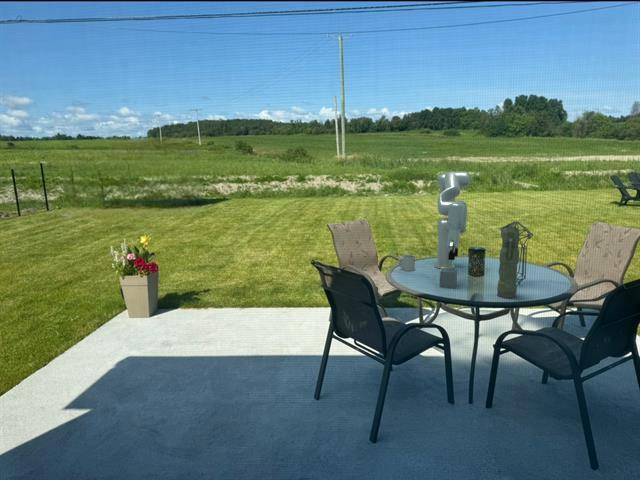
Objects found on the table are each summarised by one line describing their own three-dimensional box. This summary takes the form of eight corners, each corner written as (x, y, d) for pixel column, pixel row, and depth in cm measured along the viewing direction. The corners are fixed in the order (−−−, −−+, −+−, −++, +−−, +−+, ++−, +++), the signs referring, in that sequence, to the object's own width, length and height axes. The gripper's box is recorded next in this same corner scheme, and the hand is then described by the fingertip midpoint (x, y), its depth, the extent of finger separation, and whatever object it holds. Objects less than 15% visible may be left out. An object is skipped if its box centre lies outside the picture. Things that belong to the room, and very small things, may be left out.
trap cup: (442, 283, 250) (443, 268, 249) (456, 285, 247) (457, 269, 245) (439, 287, 243) (440, 271, 242) (454, 288, 240) (455, 272, 238)
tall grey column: (498, 298, 223) (503, 228, 217) (495, 292, 234) (500, 225, 228) (517, 300, 221) (523, 229, 214) (514, 293, 232) (519, 226, 226)
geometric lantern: (523, 281, 256) (529, 220, 249) (528, 289, 241) (535, 224, 234) (494, 278, 260) (499, 218, 253) (496, 286, 245) (502, 223, 238)
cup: (413, 271, 277) (414, 257, 275) (397, 270, 279) (398, 256, 278) (415, 269, 283) (415, 255, 282) (399, 268, 286) (399, 254, 285)
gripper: (450, 223, 248) (448, 254, 251) (444, 228, 233) (442, 260, 236) (464, 224, 245) (462, 255, 248) (459, 229, 230) (457, 262, 233)
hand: (453, 258), depth 242 cm, fingers open, 9 cm apart
